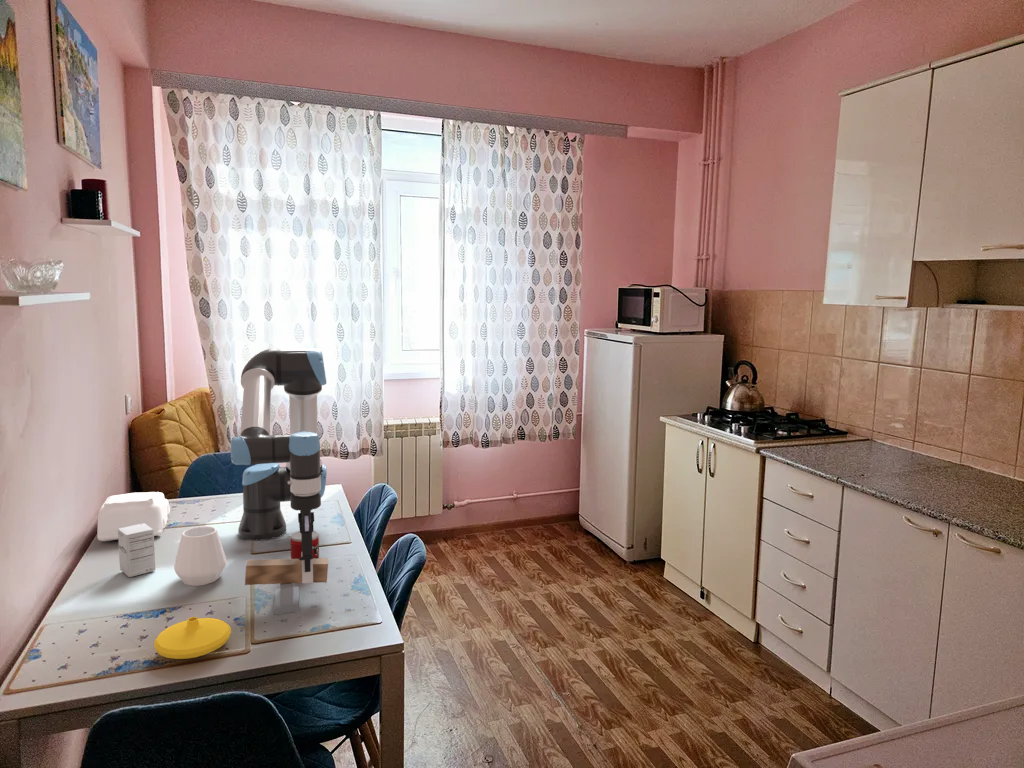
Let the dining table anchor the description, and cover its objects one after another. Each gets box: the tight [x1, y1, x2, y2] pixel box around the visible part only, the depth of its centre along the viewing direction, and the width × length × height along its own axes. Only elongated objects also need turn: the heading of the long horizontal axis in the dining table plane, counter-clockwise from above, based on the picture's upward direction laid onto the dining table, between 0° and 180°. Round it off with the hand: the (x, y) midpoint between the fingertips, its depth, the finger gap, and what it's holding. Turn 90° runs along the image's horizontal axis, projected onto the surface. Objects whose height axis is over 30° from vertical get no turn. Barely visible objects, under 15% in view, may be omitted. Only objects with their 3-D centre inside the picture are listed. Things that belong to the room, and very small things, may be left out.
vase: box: [153, 616, 232, 660], centre depth 149 cm, size 16×16×7 cm
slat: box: [244, 557, 329, 586], centre depth 172 cm, size 20×4×5 cm, turn 108°
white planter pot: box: [173, 525, 228, 587], centre depth 186 cm, size 13×13×14 cm
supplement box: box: [117, 523, 156, 578], centre depth 190 cm, size 7×7×13 cm
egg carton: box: [96, 491, 171, 542], centre depth 226 cm, size 19×30×13 cm, turn 22°
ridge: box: [273, 583, 300, 615], centre depth 173 cm, size 12×6×6 cm, turn 18°
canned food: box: [290, 530, 320, 559], centre depth 193 cm, size 8×8×11 cm
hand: (307, 578), depth 174 cm, fingers closed on slat, 4 cm apart
